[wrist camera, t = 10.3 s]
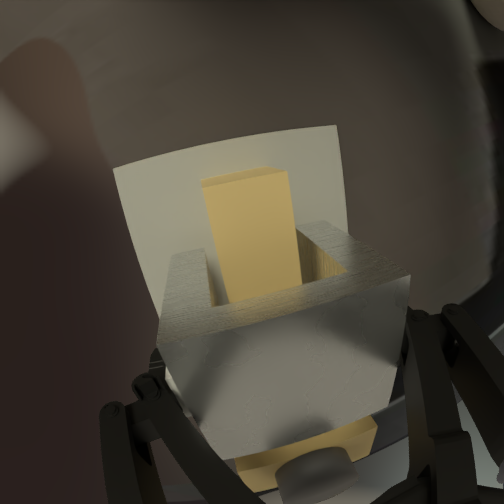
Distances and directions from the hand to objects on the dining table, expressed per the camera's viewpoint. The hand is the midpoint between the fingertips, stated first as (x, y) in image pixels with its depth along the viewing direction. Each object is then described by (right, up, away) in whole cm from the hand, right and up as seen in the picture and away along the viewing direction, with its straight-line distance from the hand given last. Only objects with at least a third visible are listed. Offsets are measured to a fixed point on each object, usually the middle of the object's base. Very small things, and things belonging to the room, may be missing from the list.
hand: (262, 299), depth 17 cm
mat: (0, 0, +3) cm, 3 cm away
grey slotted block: (0, 0, 0) cm, 0 cm away
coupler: (0, 0, +3) cm, 3 cm away
